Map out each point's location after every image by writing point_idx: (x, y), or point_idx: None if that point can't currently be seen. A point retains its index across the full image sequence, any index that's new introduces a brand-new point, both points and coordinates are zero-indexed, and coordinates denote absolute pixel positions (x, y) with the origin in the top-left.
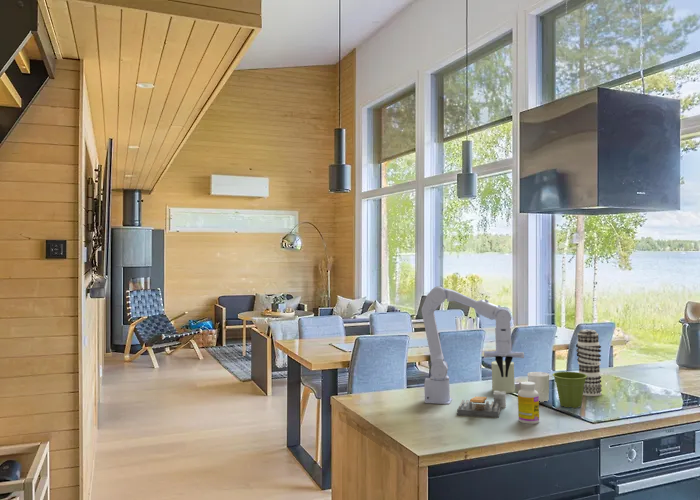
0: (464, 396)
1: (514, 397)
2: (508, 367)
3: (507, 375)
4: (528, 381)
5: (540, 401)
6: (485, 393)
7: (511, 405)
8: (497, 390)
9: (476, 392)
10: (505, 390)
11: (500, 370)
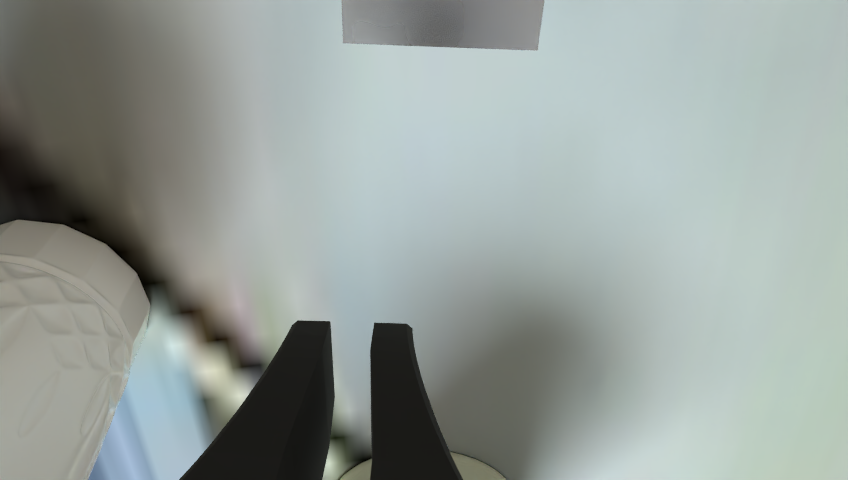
0: (808, 319)
1: None
2: (196, 471)
3: (283, 344)
4: (61, 432)
5: (12, 223)
6: (581, 429)
7: (302, 36)
8: (473, 476)
9: (659, 446)
10: None
11: (423, 415)
